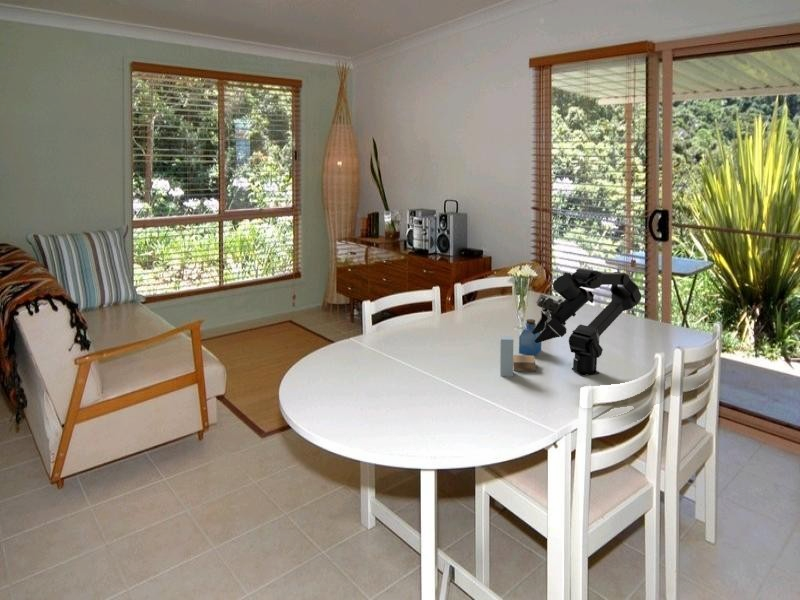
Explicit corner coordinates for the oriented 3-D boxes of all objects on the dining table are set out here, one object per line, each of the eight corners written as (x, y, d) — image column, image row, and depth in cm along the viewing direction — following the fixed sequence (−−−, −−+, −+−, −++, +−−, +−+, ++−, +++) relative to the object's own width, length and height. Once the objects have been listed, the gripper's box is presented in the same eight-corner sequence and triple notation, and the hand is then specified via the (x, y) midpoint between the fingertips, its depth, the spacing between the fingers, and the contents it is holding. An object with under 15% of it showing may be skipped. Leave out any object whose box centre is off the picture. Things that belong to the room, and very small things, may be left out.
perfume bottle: (541, 350, 206) (542, 319, 203) (535, 355, 201) (536, 323, 198) (525, 348, 209) (525, 317, 206) (518, 353, 204) (519, 321, 201)
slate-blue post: (512, 372, 186) (513, 335, 183) (512, 376, 182) (513, 339, 179) (500, 371, 187) (500, 335, 184) (500, 376, 183) (500, 339, 180)
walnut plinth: (533, 363, 193) (533, 355, 192) (535, 371, 186) (535, 362, 185) (512, 363, 194) (513, 355, 193) (513, 370, 187) (513, 362, 186)
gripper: (549, 280, 184) (514, 312, 188) (556, 293, 166) (517, 328, 170) (573, 303, 185) (538, 335, 189) (582, 319, 167) (543, 353, 171)
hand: (534, 337), depth 180 cm, fingers open, 9 cm apart
